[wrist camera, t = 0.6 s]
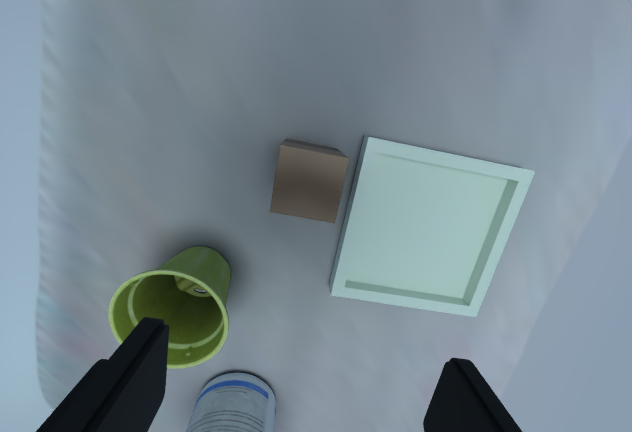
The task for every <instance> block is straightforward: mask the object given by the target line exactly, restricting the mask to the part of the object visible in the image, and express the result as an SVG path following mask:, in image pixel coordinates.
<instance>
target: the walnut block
mask: <svg viewBox="0 0 632 432" xmlns="http://www.w3.org/2000/svg"><path fill="white" fill-rule="evenodd" d="M348 162H349V158H348V157H347V156H346V155H344V154H343V153H342V152H340V151H339V150H338V149H335V148H330V147H325V146H320V145H315V144H310V143H305V142H300V141H295V140H290V139H285V140H284V142H283V143H282V144H281V145H280V151H279V157H278V163H277V170H276V176H275V182H274V188H273V195H272V201H271V207H270V212H274V213H279V214H285V215H291V216H297V217H302V218H308V219H314V220H319V221H325V222H331V223H335V219H336V215H337V211H338V206H339V202H340V197H341V193H342V189H343V184H344V180H345V175H346V171H347V166H348Z"/></svg>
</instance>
